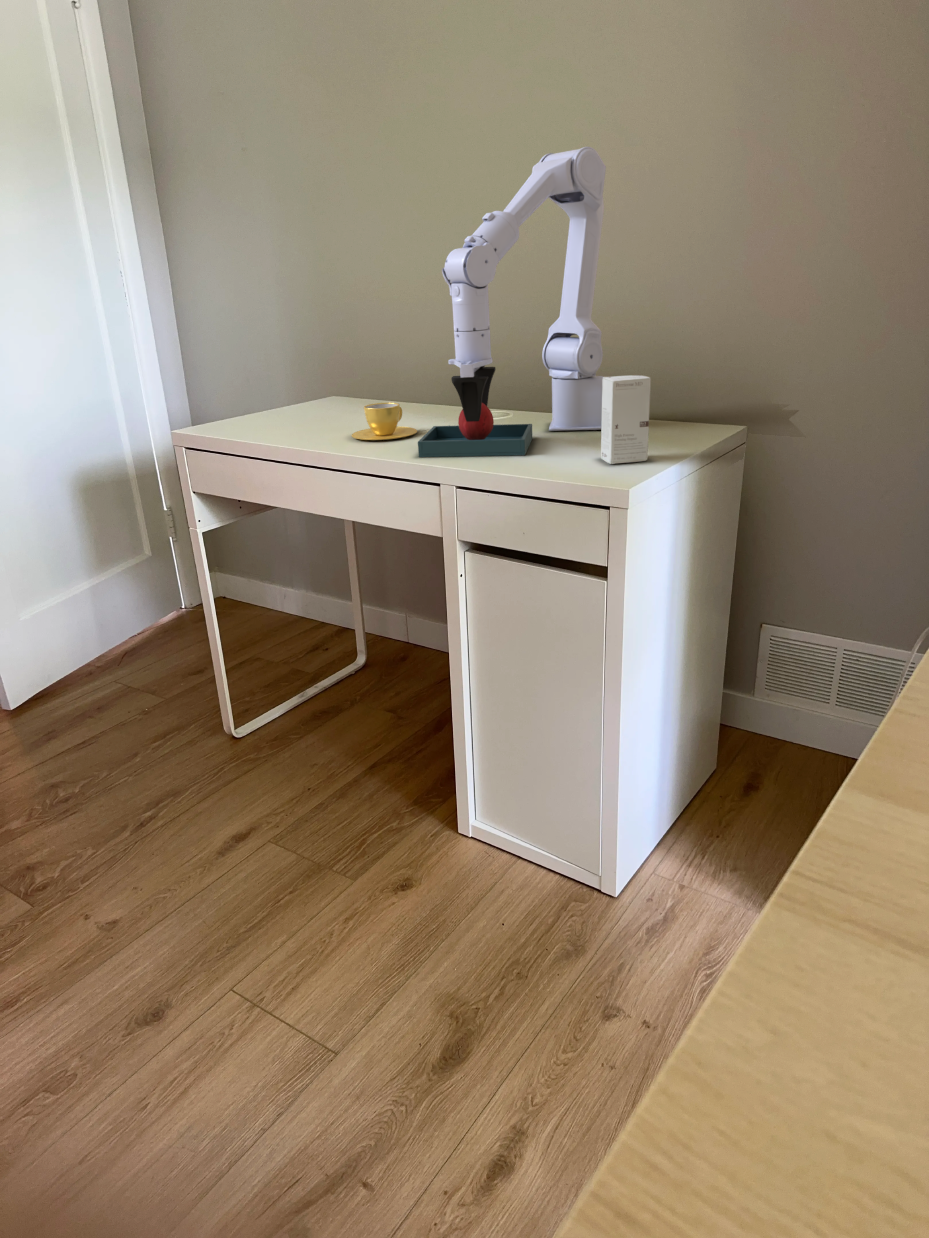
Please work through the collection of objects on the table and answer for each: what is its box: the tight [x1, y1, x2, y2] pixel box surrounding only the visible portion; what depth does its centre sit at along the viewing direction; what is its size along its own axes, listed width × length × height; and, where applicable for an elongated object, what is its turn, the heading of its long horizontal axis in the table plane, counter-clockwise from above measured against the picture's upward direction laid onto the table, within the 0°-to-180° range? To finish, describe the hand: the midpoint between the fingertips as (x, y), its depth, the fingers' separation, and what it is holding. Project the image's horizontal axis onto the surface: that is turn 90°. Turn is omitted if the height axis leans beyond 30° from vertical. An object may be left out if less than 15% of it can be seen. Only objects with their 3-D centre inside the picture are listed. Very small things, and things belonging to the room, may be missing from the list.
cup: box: [351, 402, 418, 441], centre depth 155 cm, size 12×12×5 cm
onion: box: [457, 403, 495, 440], centre depth 140 cm, size 6×6×8 cm
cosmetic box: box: [600, 374, 652, 465], centre depth 125 cm, size 6×4×12 cm
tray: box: [417, 423, 533, 458], centre depth 141 cm, size 17×13×2 cm
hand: (476, 416), depth 140 cm, fingers open, 7 cm apart
